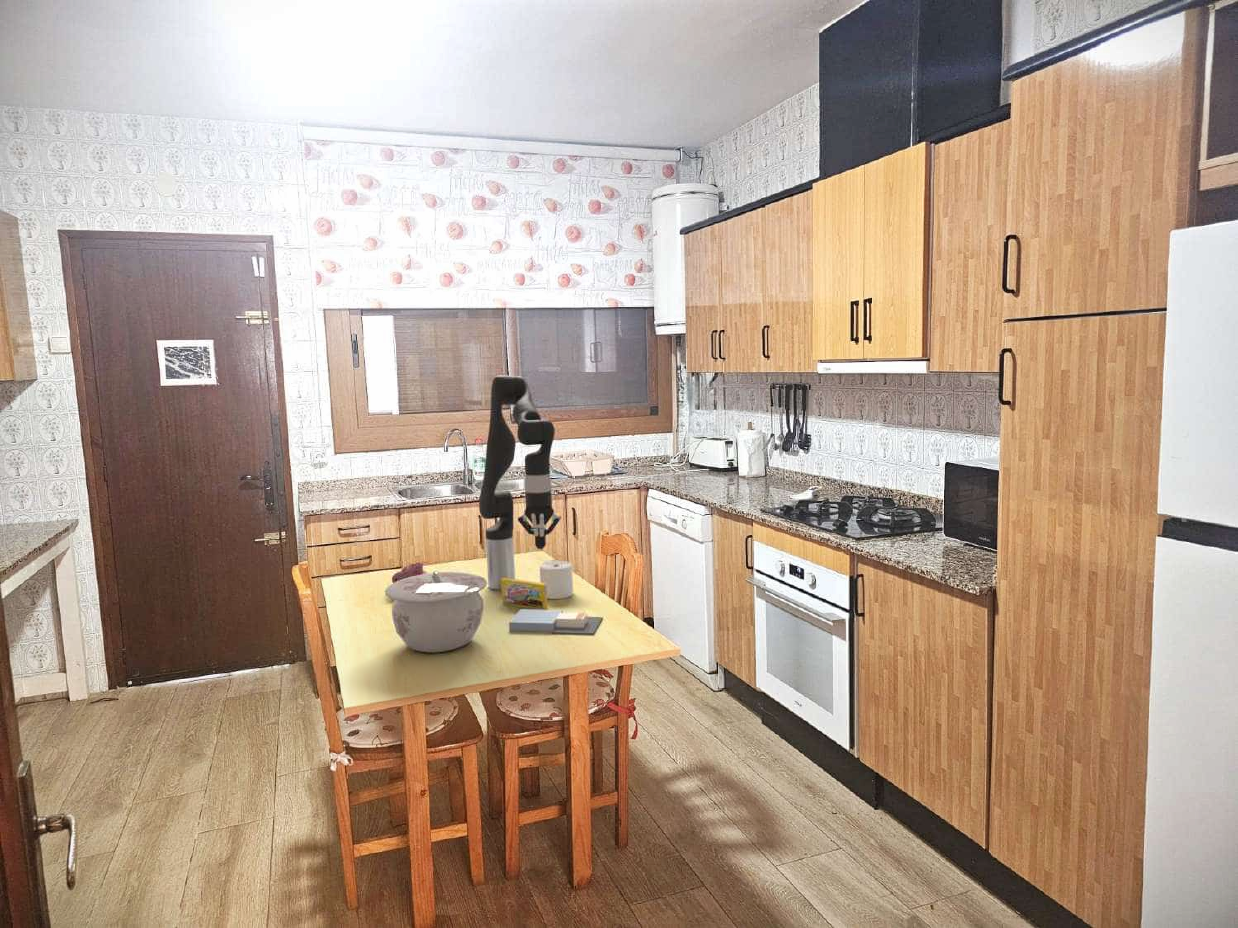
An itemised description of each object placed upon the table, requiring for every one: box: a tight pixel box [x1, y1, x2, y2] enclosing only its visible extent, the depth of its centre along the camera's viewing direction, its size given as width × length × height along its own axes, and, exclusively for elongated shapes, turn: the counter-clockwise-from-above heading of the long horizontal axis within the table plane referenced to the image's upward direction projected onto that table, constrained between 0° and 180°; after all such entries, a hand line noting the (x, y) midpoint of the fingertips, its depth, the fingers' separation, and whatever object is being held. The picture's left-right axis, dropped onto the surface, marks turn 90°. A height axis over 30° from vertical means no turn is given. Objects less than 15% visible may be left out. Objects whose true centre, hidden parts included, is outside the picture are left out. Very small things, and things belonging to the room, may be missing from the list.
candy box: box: [501, 578, 548, 610], centre depth 255 cm, size 16×2×8 cm, turn 62°
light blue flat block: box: [508, 608, 564, 633], centre depth 237 cm, size 12×13×2 cm
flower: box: [391, 561, 428, 584], centre depth 273 cm, size 15×15×10 cm
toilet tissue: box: [539, 558, 574, 600], centre depth 266 cm, size 11×12×10 cm
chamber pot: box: [384, 570, 488, 654], centre depth 222 cm, size 28×28×21 cm
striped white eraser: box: [556, 612, 588, 628], centre depth 235 cm, size 6×8×3 cm
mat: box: [551, 616, 603, 636], centre depth 235 cm, size 14×12×1 cm
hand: (540, 548), depth 234 cm, fingers closed
